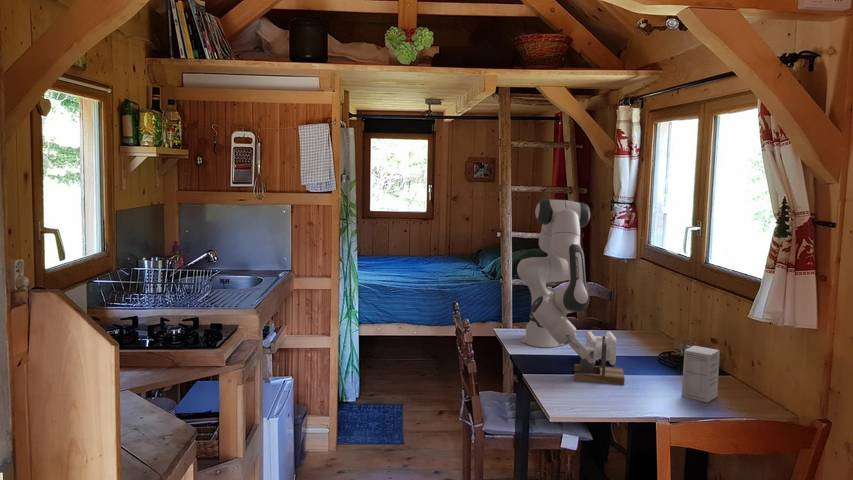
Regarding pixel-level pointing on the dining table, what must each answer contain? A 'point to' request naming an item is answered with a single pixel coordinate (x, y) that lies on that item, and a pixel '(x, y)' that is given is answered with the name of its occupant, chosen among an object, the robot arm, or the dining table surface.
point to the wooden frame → (601, 371)
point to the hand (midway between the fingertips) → (588, 358)
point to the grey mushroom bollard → (584, 364)
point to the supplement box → (700, 373)
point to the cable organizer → (597, 344)
